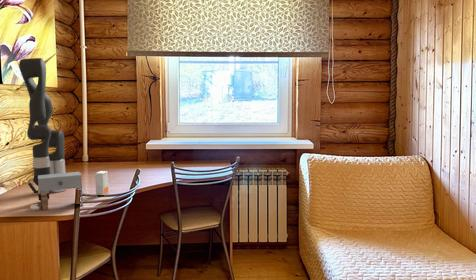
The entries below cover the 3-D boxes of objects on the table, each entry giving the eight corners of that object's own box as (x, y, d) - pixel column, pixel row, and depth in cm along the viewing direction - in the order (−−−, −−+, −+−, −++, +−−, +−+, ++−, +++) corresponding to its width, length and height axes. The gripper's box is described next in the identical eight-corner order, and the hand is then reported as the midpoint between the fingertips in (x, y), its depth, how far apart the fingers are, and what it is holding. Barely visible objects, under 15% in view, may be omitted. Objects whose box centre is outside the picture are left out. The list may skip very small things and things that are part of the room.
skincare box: (103, 196, 221) (102, 173, 220) (95, 195, 222) (94, 173, 220) (109, 193, 227) (107, 171, 226) (101, 192, 228) (100, 170, 226)
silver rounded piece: (29, 209, 198) (29, 205, 198) (40, 207, 202) (40, 203, 201) (32, 211, 195) (31, 207, 194) (43, 209, 198) (43, 205, 197)
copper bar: (41, 201, 212) (40, 189, 211) (46, 200, 213) (45, 188, 212) (42, 210, 196) (41, 197, 195) (48, 209, 197) (47, 197, 196)
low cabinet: (40, 206, 203) (37, 175, 201) (81, 201, 211) (79, 171, 209) (40, 211, 194) (38, 179, 192) (83, 206, 202) (81, 175, 200)
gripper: (56, 163, 214) (58, 197, 216) (25, 166, 208) (28, 200, 210) (57, 165, 207) (59, 200, 209) (25, 168, 201) (28, 204, 203)
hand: (44, 200), depth 209 cm, fingers closed on copper bar, 2 cm apart
